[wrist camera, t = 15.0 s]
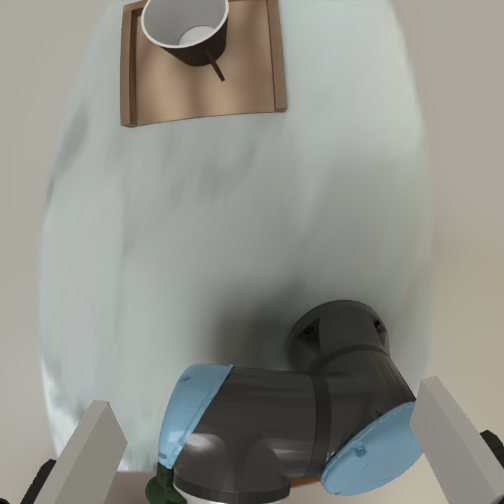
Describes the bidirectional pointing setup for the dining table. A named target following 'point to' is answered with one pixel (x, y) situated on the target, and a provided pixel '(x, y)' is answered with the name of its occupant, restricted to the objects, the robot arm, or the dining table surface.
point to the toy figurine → (163, 488)
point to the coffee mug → (188, 29)
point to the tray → (204, 70)
